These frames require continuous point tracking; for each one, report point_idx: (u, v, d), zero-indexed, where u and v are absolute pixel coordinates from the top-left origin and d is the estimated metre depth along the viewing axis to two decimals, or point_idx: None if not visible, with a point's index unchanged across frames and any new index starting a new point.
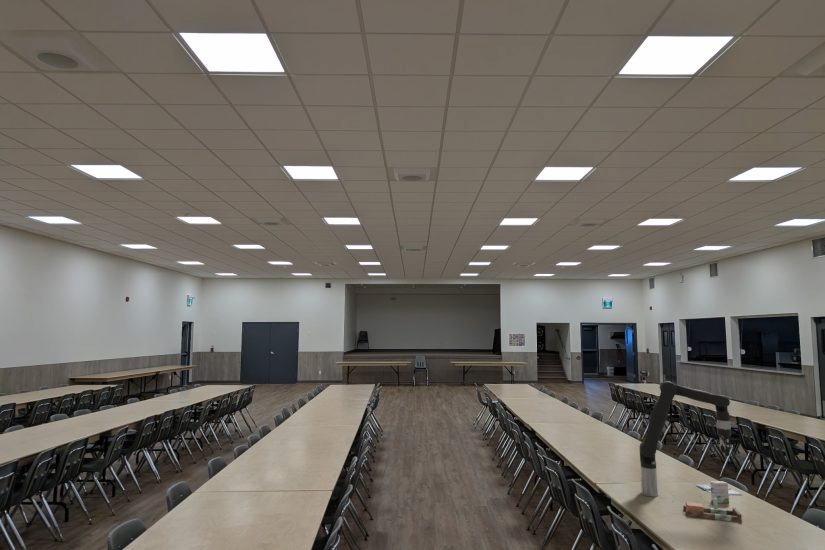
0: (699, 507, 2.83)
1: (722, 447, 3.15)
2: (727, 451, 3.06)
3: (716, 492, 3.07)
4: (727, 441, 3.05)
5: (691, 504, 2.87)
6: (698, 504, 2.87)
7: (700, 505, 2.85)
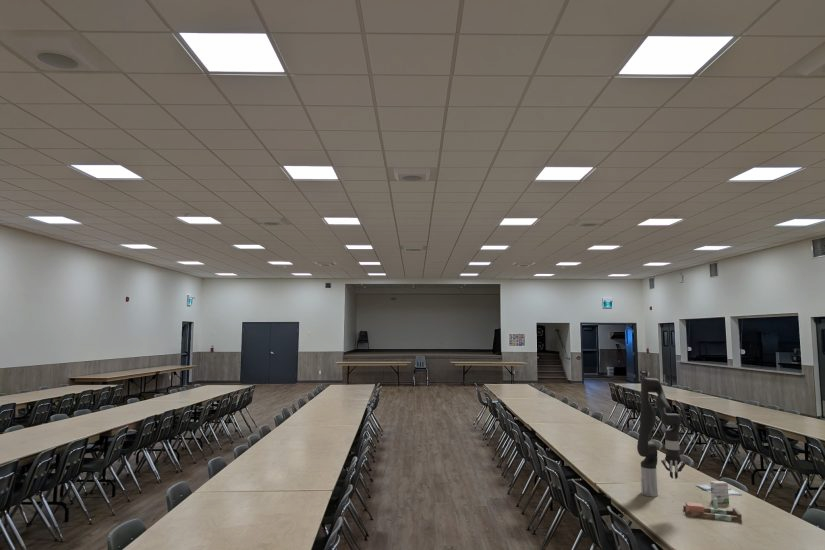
0: (699, 507, 2.84)
1: None
2: (677, 473, 2.91)
3: (716, 492, 3.07)
4: None
5: (691, 504, 2.87)
6: (698, 504, 2.87)
7: (700, 505, 2.85)
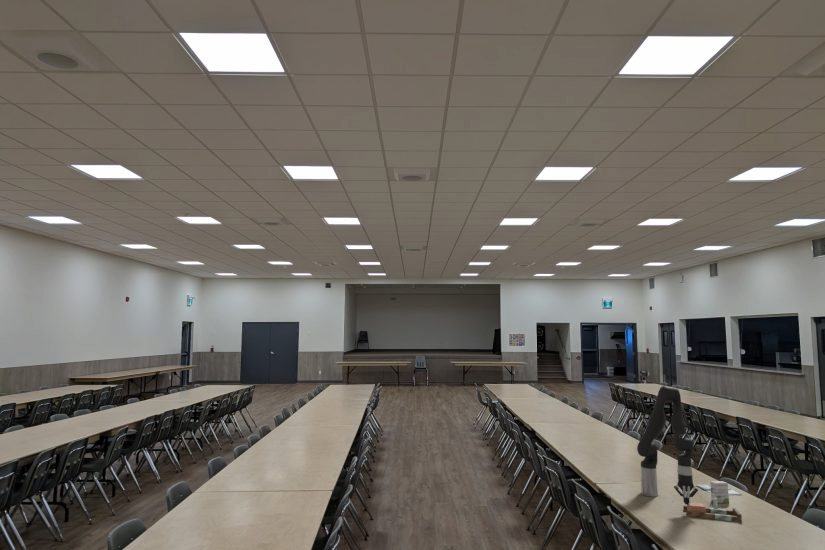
0: (701, 507, 2.83)
1: None
2: None
3: (716, 492, 3.07)
4: None
5: (692, 504, 2.86)
6: (699, 504, 2.87)
7: (702, 505, 2.85)
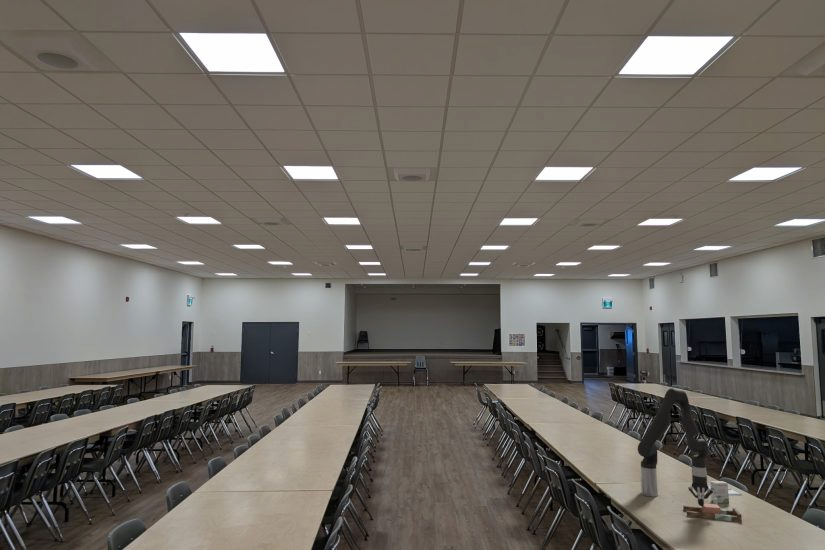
0: (716, 508, 2.81)
1: None
2: (703, 501, 2.85)
3: (716, 492, 3.07)
4: None
5: (707, 505, 2.84)
6: (714, 505, 2.85)
7: (717, 506, 2.83)
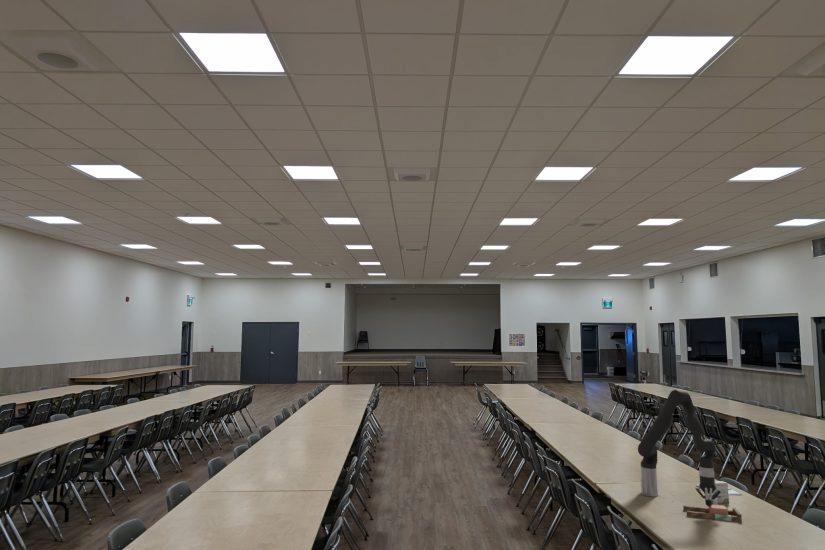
0: (723, 509, 2.80)
1: None
2: None
3: None
4: None
5: (714, 507, 2.83)
6: (721, 506, 2.84)
7: (724, 507, 2.82)
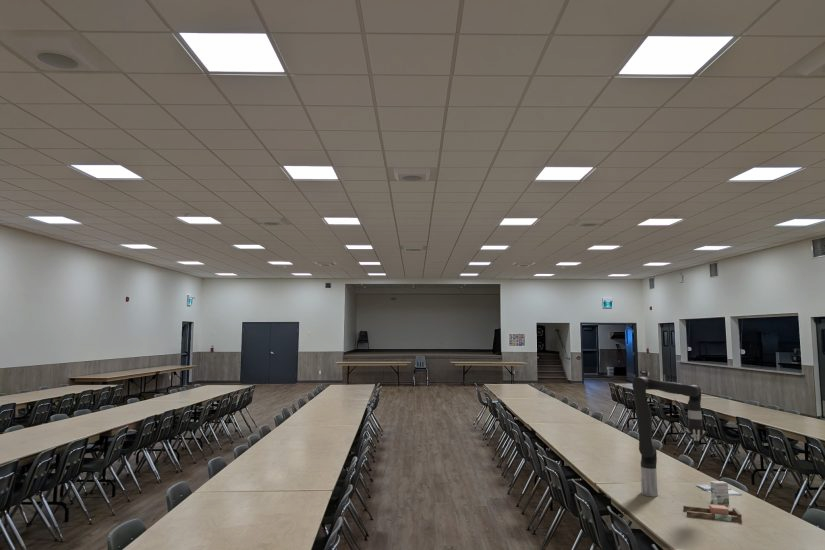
0: (724, 509, 2.80)
1: None
2: (698, 442, 3.03)
3: (716, 492, 3.07)
4: None
5: (715, 506, 2.83)
6: (722, 506, 2.83)
7: (724, 507, 2.82)
